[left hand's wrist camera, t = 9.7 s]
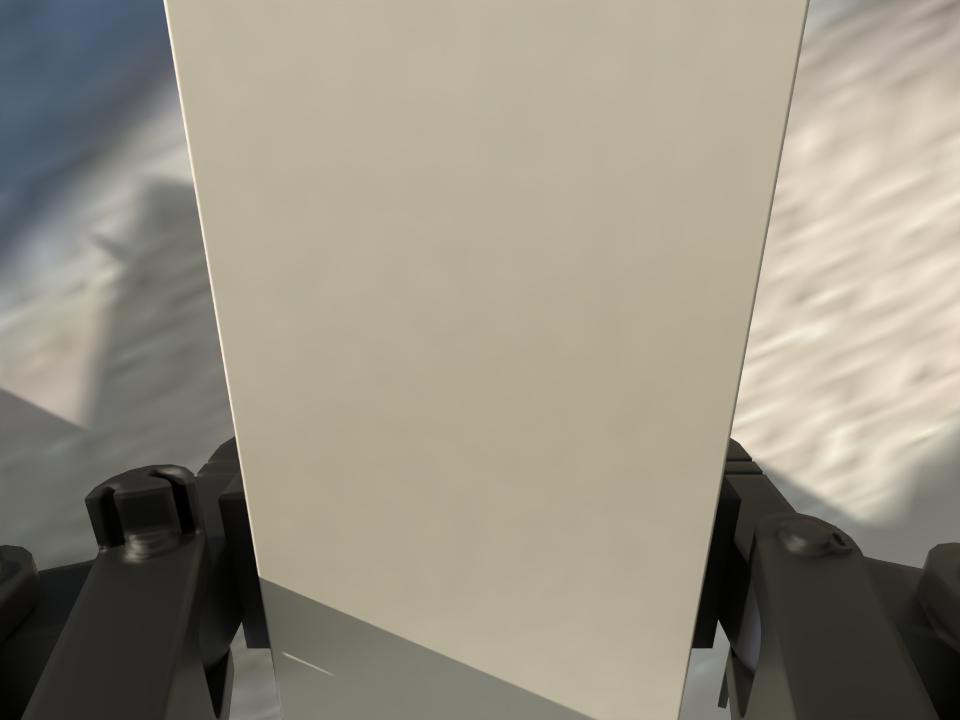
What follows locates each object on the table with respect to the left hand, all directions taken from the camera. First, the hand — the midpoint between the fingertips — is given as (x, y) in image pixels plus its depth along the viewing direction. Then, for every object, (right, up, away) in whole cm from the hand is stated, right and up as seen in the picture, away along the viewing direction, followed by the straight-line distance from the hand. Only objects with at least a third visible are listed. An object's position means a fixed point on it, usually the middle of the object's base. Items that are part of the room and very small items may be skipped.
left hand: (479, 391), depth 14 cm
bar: (0, +32, -12) cm, 34 cm away
